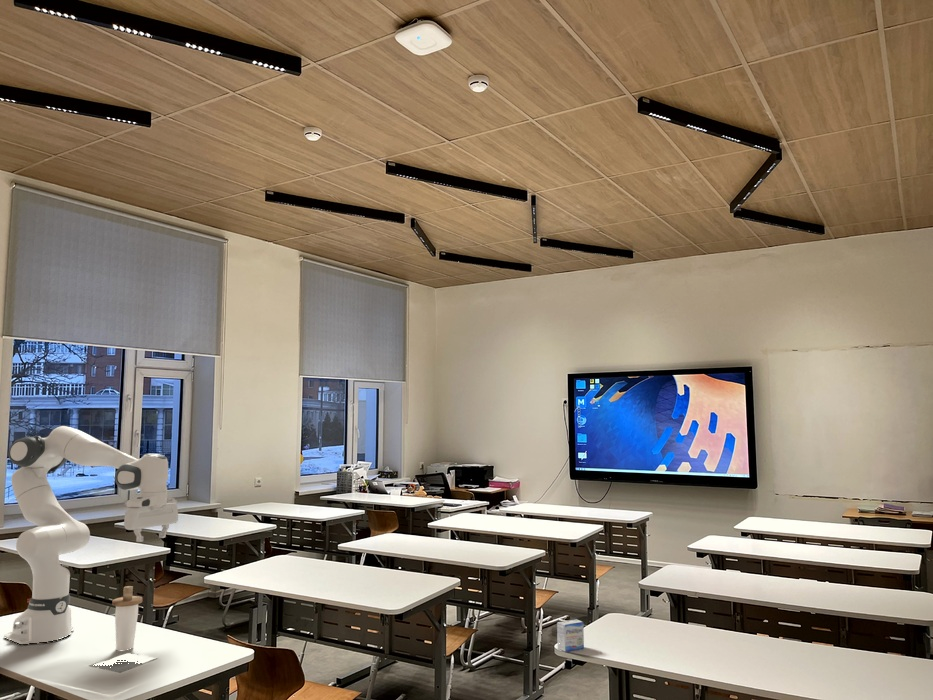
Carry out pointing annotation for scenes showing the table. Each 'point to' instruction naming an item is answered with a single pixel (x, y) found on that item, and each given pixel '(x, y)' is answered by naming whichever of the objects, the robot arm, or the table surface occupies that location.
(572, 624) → the medicine box
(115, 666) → the mat
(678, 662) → the table surface
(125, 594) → the lid
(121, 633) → the drinking glass
